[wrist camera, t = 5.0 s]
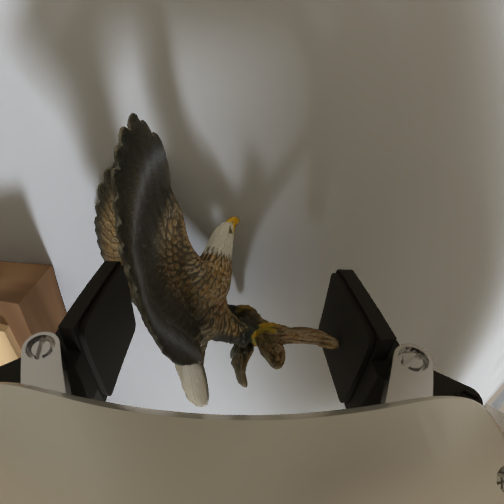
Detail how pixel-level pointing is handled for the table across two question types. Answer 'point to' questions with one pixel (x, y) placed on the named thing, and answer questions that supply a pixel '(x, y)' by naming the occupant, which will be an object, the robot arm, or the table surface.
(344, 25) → the table surface
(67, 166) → the table surface
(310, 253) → the table surface
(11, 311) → the walnut tray
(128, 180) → the eagle figurine
